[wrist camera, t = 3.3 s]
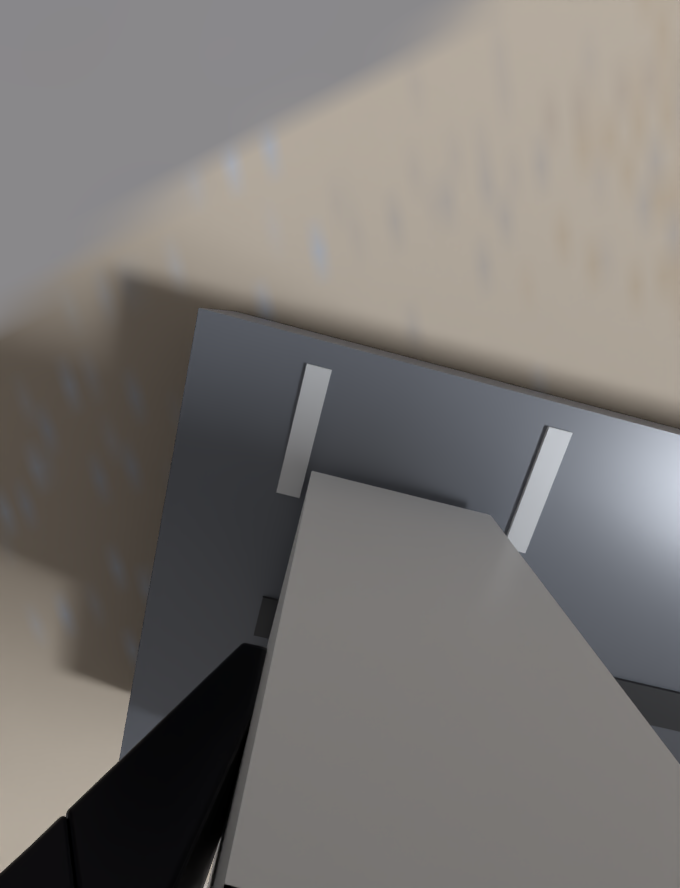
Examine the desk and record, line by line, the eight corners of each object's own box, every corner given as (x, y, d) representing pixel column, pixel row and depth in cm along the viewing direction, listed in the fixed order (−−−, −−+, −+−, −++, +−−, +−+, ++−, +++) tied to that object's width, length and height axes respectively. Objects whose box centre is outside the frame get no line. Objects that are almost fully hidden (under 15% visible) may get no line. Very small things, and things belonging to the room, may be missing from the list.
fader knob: (490, 514, 8) (971, 1149, 2) (388, 792, 9) (471, 1643, 3) (311, 470, 8) (195, 1011, 2) (237, 761, 9) (36, 1598, 3)
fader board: (1095, 539, 11) (1321, 604, 8) (865, 855, 13) (986, 979, 11) (235, 311, 10) (197, 307, 7) (158, 704, 12) (110, 802, 10)
